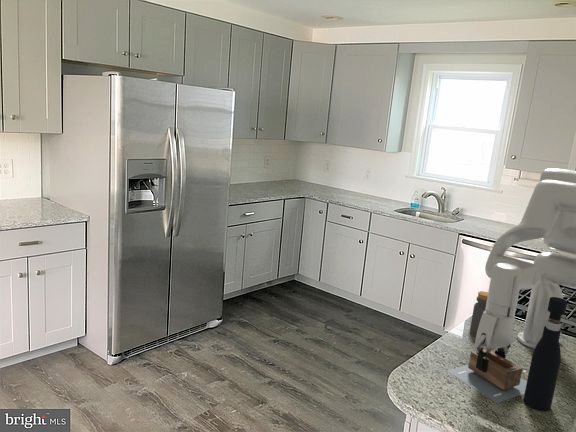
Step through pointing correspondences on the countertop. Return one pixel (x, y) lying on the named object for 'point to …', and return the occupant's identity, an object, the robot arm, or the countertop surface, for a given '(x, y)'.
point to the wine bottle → (546, 360)
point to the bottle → (478, 312)
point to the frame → (498, 370)
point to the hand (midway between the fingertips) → (489, 367)
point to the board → (488, 385)
